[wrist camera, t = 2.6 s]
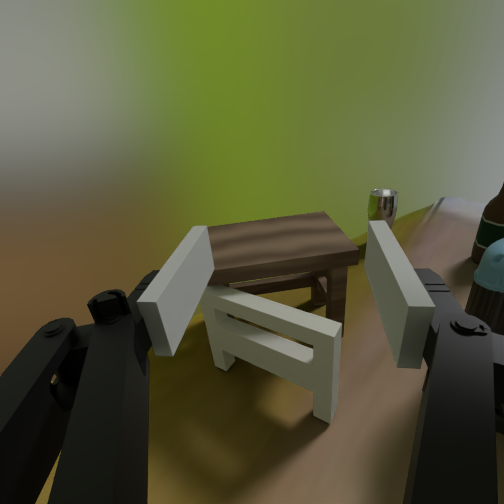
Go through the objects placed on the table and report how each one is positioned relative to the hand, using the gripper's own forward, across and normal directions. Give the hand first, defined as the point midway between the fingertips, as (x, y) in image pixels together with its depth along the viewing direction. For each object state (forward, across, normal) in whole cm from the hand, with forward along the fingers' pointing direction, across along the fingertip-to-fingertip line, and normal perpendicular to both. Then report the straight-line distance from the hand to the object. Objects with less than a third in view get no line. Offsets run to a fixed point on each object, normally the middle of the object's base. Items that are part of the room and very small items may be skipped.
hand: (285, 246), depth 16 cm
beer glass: (+64, +21, -34) cm, 76 cm away
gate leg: (+17, -5, -33) cm, 38 cm away
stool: (+30, -4, -34) cm, 45 cm away
